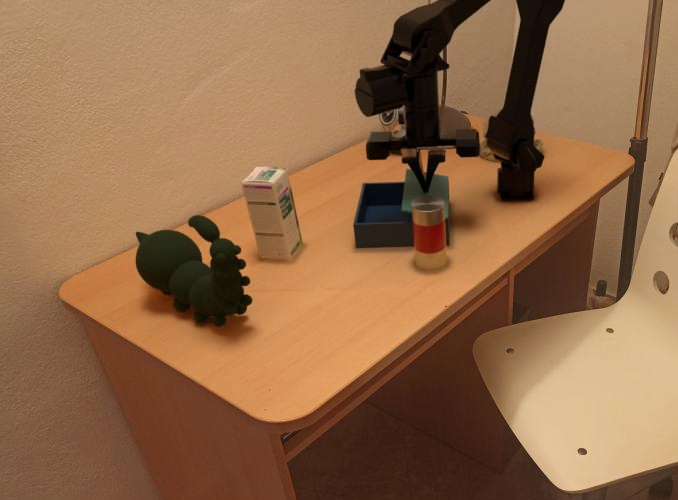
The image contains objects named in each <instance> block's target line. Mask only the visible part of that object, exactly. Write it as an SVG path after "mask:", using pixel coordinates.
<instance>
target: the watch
mask: <svg viewBox="0 0 678 500" xmlns="http://www.w3.org/2000/svg"><path fill="white" fill-rule="evenodd" d="M378 118H379V123H380V125H381V128H382V130H383V132H387V131H391V134H392V139H393V138H406V135H405V124H401V125H400V129H399V130H398V129H396V130H395V128H396V125H397V124H398V123H399V122H398V109H397V110H393V111H389V112H386V113H382V114H378ZM390 153H394V154H396V155H399V156H402V153H401V150H396V151H390Z"/></svg>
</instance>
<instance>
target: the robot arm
mask: <svg viewBox="0 0 678 500" xmlns="http://www.w3.org/2000/svg"><path fill="white" fill-rule="evenodd" d="M491 1H492V0H436V1H434V2H432V3H428V4H425V5H421V6H418V7H416V8H414V9H411V10H410V11H408V12H405V13H404V14H402V15H400V16H399V17H398V18H396V20H395V21H394V24H393V29H392V34H391V37H390V39H389V41H388V43H387V45H386V48H385V49H384V52H383V54H382V56H381V59H380V64H382V65H377V66H374V67H363V68H360V69H359V78H357V80H356V82H355V83H356V84H355V88H354V97H355V100H356V104H357V106H358V109H359V110H360V112H361V113H362V115H363V116H364V117H367V118H371V117H375V116H379V114H382V113H386V112H389V111H393V110H397V109H398V122H397V123H398V125H400V126H401V124H405V135H406V138H393V139H392V134H391V131H387V132H384V131H370V133H369V134H368V135H367V138H366V143H365V154H366V160H369V161H386V160H387V159H388V158H389V157H390V156H391V152H390V151H396V150H401V153H402V155H401V164H402V165H403V164H404V165H408V167H409V169H411V170H412V171H413V173H414V174H415V176H416V178H417V180H418V182H419V184H420V186H421V188H422V190H423V192H424V193H427V192H428V191H429V188H430V184H431V181H432V178H433V175H434V174H436V170H437V169H438V167H439V165H440V164H442V163H445V162H446V152H447V150H455V154H456V155H457V156H459V157H460V159H462V158H478V157H481V154H480V150H481V148H480V143H481V141H480V132H479V130H478V129H477V128H462V129H461V128H459V129H457V128H455V136H441V132H442V127H441V116H440V100H439V98H440V97H439V96H440V95H439V74H438V73H439V72H441V71H446V70H448V69H450V64H449V62H447V61H446V60H444V59H443V57H442V56H441V55H440V54H441V53H442V52H443V51H444V50H445V48H446V47H448V45H449V44H450V42H451V40H452V38H453V36H454V33H455V31H456V30H457V29H458V28H459V27H460V26H461V25H462V24H463V23H465V21H467V20H468V19H469V18H471V17H472V16H473V15H474V14H476V13H477V12H478V11H480V10H481V9H482V8H483V7H485V6H486V5H487V4H489V2H491ZM515 2H516V6H517V10H518V14H519V19H520V20H519V27H518V32H517V36H516V42H515V46H514V52H513V57H512V60H511V61H512V62H511V68H510V71H509V77H508V83H507V88H506V92H505V98H504V102H503V107H502V108H500V109H501V111H500V112H499V113H498V114H497V116H492V115H491V114H490V115H489V117H490V118H489V117H488V118H489V123H488V130H487V133H486V135H485V138H487V147H489V149H490V151H491V152H492V153H493V156H494V159H496V160H499V161H501V162H500V165H499V166H500V167H498V168H497V169H496V170H497V171H496V191H497V194H498V195H499V197H500V201H501V202H502V201H503V202H504V201H507V202H508V201H534V200H535V198H536V196H535V191H534V190H535V172H536V171H537V169H540V168H542V166H543V163H544V160H545V155H544V154H543V153H541V152H540V151H539V150H538V149H537V148H536V147H535V146H534V140H535V135H536V134H535V130H536V128H535V124H534V125H533V121H532V118H533V116H532V107H533V103H534V98H535V95H536V89H537V85H538V80H539V77H540V76H539V75H540V71H541V66H542V62H543V57H544V53H545V49H546V48H545V47H546V43H547V39H548V35H549V29H550V26H551V24H553V22H554V20H555V19H556V18H557V17H558V15H559V14H560V13H561V12H562V10H563V8H564V4H565V2H566V0H515ZM402 54H404V55H406V56H408V57H410V59H407V58H406V57H403V56H402ZM531 116H532V117H531ZM534 128H535V129H534ZM534 134H535V135H534ZM485 138H484V139H485ZM422 150H423V151H425V150H428V151H427V160H426V161H427V162H426V171H425V170H424V165H423V160H422ZM424 172H426V181H425V176H424Z"/></svg>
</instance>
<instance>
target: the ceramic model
mask: <svg viewBox="0 0 678 500" xmlns="http://www.w3.org/2000/svg"><path fill="white" fill-rule="evenodd" d="M501 109H502V108H499V109H494V110H493V112H492V113H491V114H490V116H491V115H492V116H497V114H498V113H499V112H500V111H501ZM490 116H488V117H487V118H486V119H485V120H484V122H483V127H482V137H483V141H480V157H482V158H483V159H485V160H487V161H491V162H495V163H501V161H499V160H496V159H494V156H493V153H492V152H491V151H490V149H489V147H487V138H485V135H486V133H487V130H488V123H489V118H490ZM531 117H532V121H533V125H534V126H535V120H534V118H533V115H531ZM534 129H535V134H534V136H536V135H537V130H536V128H535V127H534ZM543 145H544V144H543V141H542V139H540V138H539V139H538V138H537V139H534V146H535V147H536V148H537V149H538V150H539V151H540V152H541V153H542V152H543ZM542 154H543V153H542Z"/></svg>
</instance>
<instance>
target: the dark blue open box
mask: <svg viewBox="0 0 678 500" xmlns="http://www.w3.org/2000/svg"><path fill="white" fill-rule="evenodd" d="M404 184H405V181H385V182H384V181H383V182H382V181H381V182H362V184H361V190H360V194H359V198H358V202H357V206H356V212H355V215H354V220H353V224H352V227H353V233H354V240H355V241H354V242H355V248H356V249H375V248H376V249H379V248H380V249H381V248H414V238H413V224H412V213H408V212H402V211H401V209H402V201H403V192H404ZM445 226H446V247H450V180H448V220H447V219H445Z"/></svg>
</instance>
